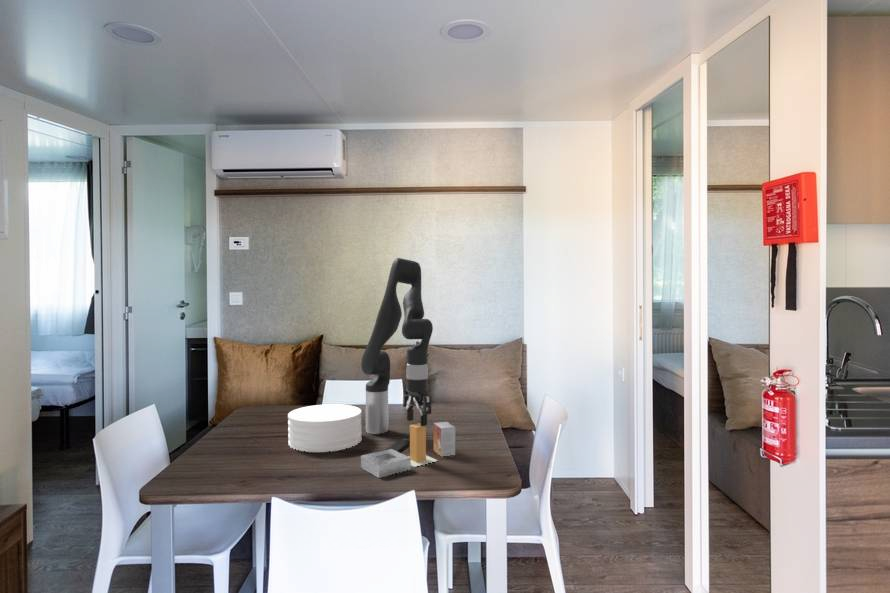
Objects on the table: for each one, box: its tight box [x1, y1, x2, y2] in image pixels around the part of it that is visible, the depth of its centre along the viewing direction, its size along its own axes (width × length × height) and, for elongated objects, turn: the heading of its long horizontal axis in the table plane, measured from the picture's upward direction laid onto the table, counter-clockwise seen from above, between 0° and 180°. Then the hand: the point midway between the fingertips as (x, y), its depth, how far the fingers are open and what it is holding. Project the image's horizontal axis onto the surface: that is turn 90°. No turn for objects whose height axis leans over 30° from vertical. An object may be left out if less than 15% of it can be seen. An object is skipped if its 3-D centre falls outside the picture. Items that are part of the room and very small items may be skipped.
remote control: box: [383, 434, 410, 453], centre depth 205 cm, size 5×24×1 cm, turn 161°
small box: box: [433, 421, 456, 458], centre depth 195 cm, size 8×6×10 cm
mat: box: [407, 454, 439, 468], centre depth 188 cm, size 10×10×1 cm
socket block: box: [360, 449, 412, 479], centre depth 180 cm, size 12×12×4 cm
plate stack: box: [287, 403, 363, 453], centre depth 212 cm, size 28×28×12 cm
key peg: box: [409, 422, 427, 462], centre depth 187 cm, size 4×4×12 cm
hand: (416, 423), depth 187 cm, fingers open, 8 cm apart
